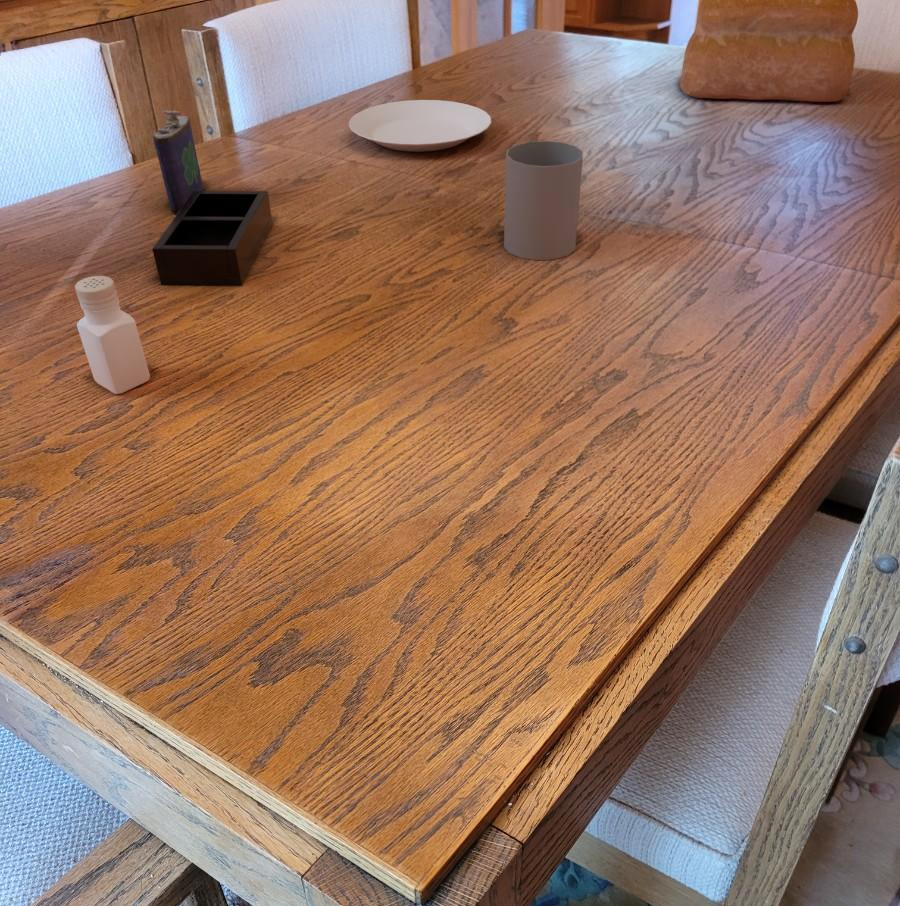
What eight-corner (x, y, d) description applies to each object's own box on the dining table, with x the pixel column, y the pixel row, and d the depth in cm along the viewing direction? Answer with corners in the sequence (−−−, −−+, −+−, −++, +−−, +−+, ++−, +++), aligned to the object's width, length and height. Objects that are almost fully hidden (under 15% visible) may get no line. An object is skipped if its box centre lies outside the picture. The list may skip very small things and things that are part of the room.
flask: (188, 188, 120) (170, 98, 112) (209, 188, 119) (193, 99, 112) (166, 214, 113) (145, 122, 105) (189, 215, 113) (170, 122, 105)
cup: (494, 254, 103) (496, 161, 96) (515, 227, 108) (518, 138, 101) (566, 264, 101) (573, 170, 94) (583, 236, 106) (591, 145, 99)
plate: (519, 141, 131) (520, 124, 130) (397, 171, 123) (396, 154, 121) (440, 107, 144) (440, 92, 142) (324, 132, 136) (323, 116, 134)
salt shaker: (117, 398, 81) (86, 298, 75) (92, 383, 83) (60, 284, 77) (154, 381, 84) (127, 282, 77) (129, 366, 85) (101, 269, 79)
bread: (678, 79, 154) (693, -28, 143) (837, 83, 150) (865, -26, 140) (679, 102, 144) (696, -11, 134) (850, 107, 141) (880, -8, 130)
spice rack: (160, 285, 98) (151, 248, 96) (200, 224, 111) (193, 190, 108) (241, 285, 98) (235, 249, 95) (272, 224, 110) (267, 190, 107)
